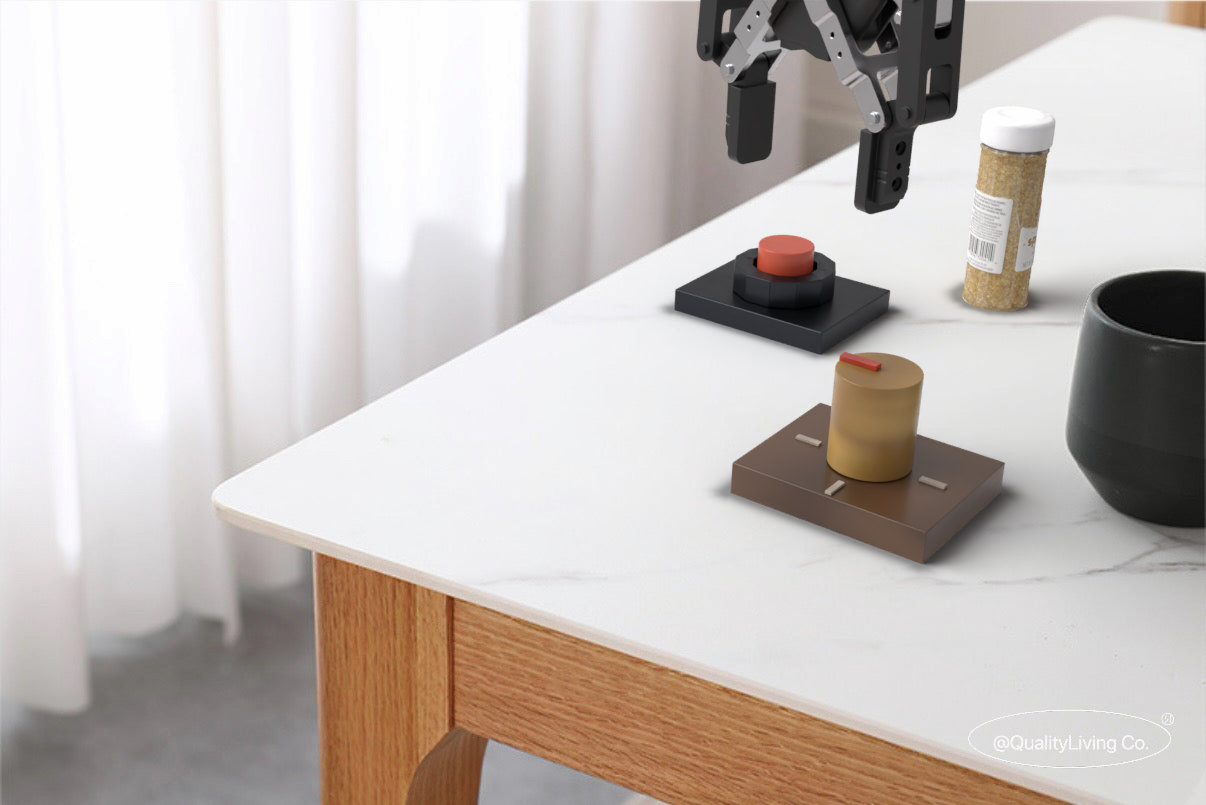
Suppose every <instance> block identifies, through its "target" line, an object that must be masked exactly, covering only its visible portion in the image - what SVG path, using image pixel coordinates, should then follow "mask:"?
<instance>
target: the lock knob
mask: <svg viewBox="0 0 1206 805" xmlns="http://www.w3.org/2000/svg"><path fill="white" fill-rule="evenodd" d="M924 380H925V373H924V371H923V369H922V367H920V365H918V364H917V363H916V362H914V361H913V360H911V359H908V358H905V357H904V356H901V355H896V354H892V353H886V352H876V351H873V352H871V351H870V352H869V351H868V352H865V351H864V352H858V353H851V352H848V351H844V352H842V353H841V354H839V357H838V361H836V364H835V367H834V376H833V385H832V397H831V405H830V406H831V416H830V426H829V437H828V447H827V461H828V463H829V465H830V466H831V467H832V468H833V469H834V470H835V471H837V472H839V473H840V474H842V475H844V476H847V477H850V478H853V479H857V480H862V481H869V482H886V481H893V480H897V479H900V478H902V477H904V476H906V475H907V474H908V473H909V472H910V471H911V470H912V467H913V461H914V453H915V444H916V436H917V434H918V428H919V419H920V411H921V404H922V397H923V396H922V394H923V387H924Z"/></svg>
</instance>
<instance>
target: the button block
mask: <svg viewBox="0 0 1206 805" xmlns="http://www.w3.org/2000/svg"><path fill="white" fill-rule="evenodd" d="M757 260H758V247H753V248H749V249H747V250H745V251H743V252H741V253H739V254H737V255H735V258H733V259H732V260H730V261H728V262H726V263H724V264H722V265H720V266H717V267H716V268H714V269H712V270H710V271H708V272H706V273H704V274H703V275H700V276H699V277H696V278H695V279H693V280H691V281H689V282H686V283H685V284H683V285H681V286H678V287H677V288H675V290H674V311H675V312H679V313H682V314H685V315H688V316H692V317H695V318H699V319H702V320H704V321H705V320H706V321H708V322H712V323H715V324H718V325H721V326H724V327H728V328H731V329H735V330H737V331H741V332H744V333H746V334H750V335H755V336H757V337H761V338H764V339H767V340H771V341H775V342H777V343H780V344H784V345H787V346H790V347H793V348H796V349H800V350H803V351H807V352H810V353H812V354H813V353H814V354H816V355H823V354H824V353H826V352H827V351H829V350H830V349H831V348H833V347H835V346H837V345H838V344H839V343H842V342H843V341H844V340H846V339H847V338H849V337H851V336H852V335H854V334H855V333H857V332H858V331H859V330H861V329H862V328H864V327H866V326H867V325H869V324H871V323H872V322H873V321H875V320H877V319H879V318H880V317H882V316H883V315H884V314H886V313H888V312H889V306H890V298H891V290H890V289H886V288H883V287H880V286H877V285H872V284H868V283H865V282H861V281H858V280H853V279H850V278H847V277H844V276H840V275H836V274H837V266H836V264H837V263H836V261H834V260H832V259H831V258H829V257H828V256H827V255H825V254H824V253H822V252H819V251H815V250H814V262H813V271H812V272H811V273H810V274H807V275H800V276H778V275H774V274H770V273H766V272H763V271H760V270H759V269H757Z"/></svg>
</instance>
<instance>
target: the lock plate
mask: <svg viewBox="0 0 1206 805" xmlns="http://www.w3.org/2000/svg"><path fill="white" fill-rule="evenodd" d="M831 406H832V405H830V404H826V403H823V402H819V403H817V404H815V405H814V406H813V407H811V408H810V409H809V410H807V411H806V412H804V413H803V414H801V415H800V416H798V417H797V418H795V419H793V420H792V421H791V422H790V423H788V424H787V425H785V426H784V427H782V428H781V429H779V430H778V431H777V432H775V433H773V434H772V435H771V436H769V437H768V438H766V439H765V440H763V441H761V442H760V443H759V444H757V445H756V446H755V447H753V448H752V449H750V450H749V451H747V452H746V453H745V454H743V455H741V456H740V457H739V458H737V459H736V460H734V461H732V465H731V480H730V494H733V495H736V496H737V497H738V496H739V497H740V498H744V499H746V500H749V501H752V502H754V503H756V504H759V505H762V506H764V507H767V508H770V509H773V510H776V511H778V512H781V513H783V514H786V515H789V516H791V517H795V518H797V519H799V520H802V521H805V522H808V523H811V524H813V525H816V526H819V527H821V528H823V529H827V530H829V531H832V532H835V533H837V534H840V535H842V536H845V537H848V538H851V539H854V540H856V541H858V542H861V543H864V544H867V545H869V546H872V547H875V548H877V549H880V550H883V551H885V552H888V553H891V554H894V555H896V556H899V557H901V558H905V559H907V560H909V561H912V562H914V563H917V564H920V565H924V564H925V563H926V562H927V561H929V559H930V558H931V557H933V555H935V554H936V553H937V552H938V551H939V550H940V549H941V548H942V547H943V546H945V545H946V544H947V543H948V542H949V541H950V540H951V539H952V538H953V537H954V536H956V534H957V533H959V532H960V531H961V530H962V529H963V528H964V527H965V526H966V525H967V524H968V523H970V522H971V521H972V520H973V519H974V518H975V517H976V516H977V515H978V514H979V513H981V511H982V510H984V509H985V508H986V507H987V506H988V505H989V504H990V503H991V502H992V501H993V500H994V499H996V498H997V497H998V496H999V495H1000V494H1001V492H1002V486H1003V480H1004V473H1005V466H1006V462H1005V461H1001V460H999V459H996V458H993V457H989V456H987V455H983V454H980V453H977V452H974V451H971V450H967V449H965V448H962V447H959V446H956V445H953V444H949V443H947V442H943V441H940V440H937V439H935V438H934V439H933V438H931V437H928V436H924V435H921V434H918V433H917V436H916V444H915V453H914V461H913V467H912V470H911V471H910V472H909V473H908V474H907V475H906V476H904V477H902V478H900V479H897V480H893V481H886V482H869V481H862V480H857V479H853V478H850V477H847V476H844V475H842V474H840V473H839V472H837V471H835V470H834V469H833V468H832V467H831V466H830V465H829V463H828V461H827V447H828V437H829V426H830V416H831Z"/></svg>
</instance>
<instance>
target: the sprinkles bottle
mask: <svg viewBox="0 0 1206 805" xmlns="http://www.w3.org/2000/svg"><path fill="white" fill-rule="evenodd" d="M1055 130H1056V118H1055V117H1054V116H1053V115H1052V114H1051V113H1049V112H1046V111H1044V110H1040V109H1038V108H1037V109H1036V108H1032V107H1026V106H1011V105H1009V106H997V107H992V108H990V109H987V110H986V111H985V112H984V113H983V116H982V120H981V127H980V134H979V140H980V142H981V143H980V145H979V146H980V149H981V150H980V156H979V162H978V172H977V178H976V184H975V186H974V194H973V201H972V209H971V218H970V226H969V232H968V233H969V234H968V241H967V250H966V267H965V273H964V274H965V275H964V284H963V291H962V292H961V293H962V294H961V297H962V298H963V301H964V302H966V303H967V304H969V305H971V306H973V307H975V308H979V309H982V310H986V311H993V312H1014V311H1019V310H1021V309H1024V308H1026V307H1027V306H1028V304H1029V301H1028V297H1029V296H1028V295H1029V290H1030V289H1029V288H1030V280H1031V276H1032V275H1031V274H1032V267H1033V266H1034V261H1035V253H1036V244H1037V237H1038V230H1039V223H1040V216H1041V209H1042V202H1043V198H1042V196H1043V189H1044V182H1045V177H1046V168H1047V164H1048V163H1047V159H1048V155H1049V153H1050V150H1051V148H1052V146H1053V144H1054V139H1055V138H1054V137H1055Z"/></svg>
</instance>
